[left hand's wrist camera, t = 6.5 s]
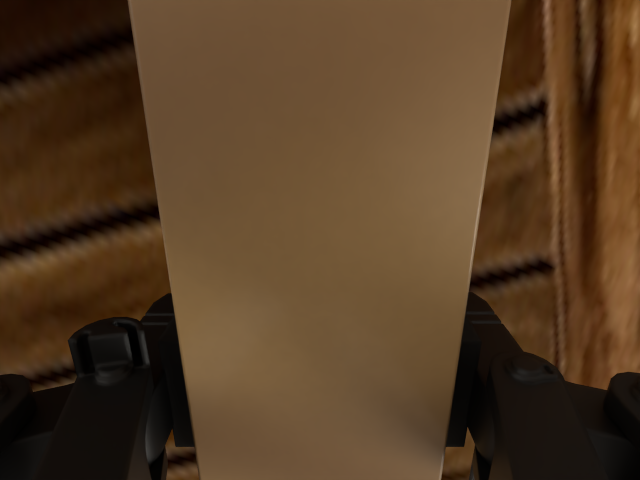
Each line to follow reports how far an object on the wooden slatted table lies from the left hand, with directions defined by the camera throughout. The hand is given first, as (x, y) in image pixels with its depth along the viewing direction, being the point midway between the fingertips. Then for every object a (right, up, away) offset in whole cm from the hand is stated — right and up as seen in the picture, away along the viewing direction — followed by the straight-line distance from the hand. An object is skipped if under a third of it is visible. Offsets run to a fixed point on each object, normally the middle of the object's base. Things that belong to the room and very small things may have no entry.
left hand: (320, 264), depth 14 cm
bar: (0, +21, -8) cm, 22 cm away
